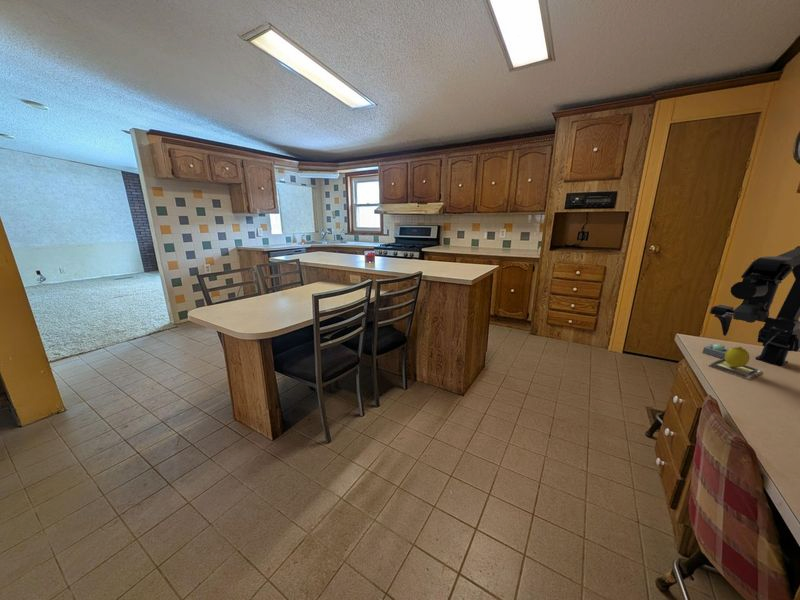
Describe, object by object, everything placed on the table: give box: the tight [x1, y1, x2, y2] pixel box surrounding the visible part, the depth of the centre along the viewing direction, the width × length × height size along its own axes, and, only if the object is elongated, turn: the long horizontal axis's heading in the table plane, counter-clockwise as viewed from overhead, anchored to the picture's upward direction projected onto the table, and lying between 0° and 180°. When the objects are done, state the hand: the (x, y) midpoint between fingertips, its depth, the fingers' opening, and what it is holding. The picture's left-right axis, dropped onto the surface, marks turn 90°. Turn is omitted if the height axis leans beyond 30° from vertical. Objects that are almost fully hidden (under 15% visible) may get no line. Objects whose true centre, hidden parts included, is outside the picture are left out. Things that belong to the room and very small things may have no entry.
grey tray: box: [708, 358, 764, 381], centre depth 102 cm, size 11×10×1 cm
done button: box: [712, 343, 726, 352], centre depth 113 cm, size 3×3×3 cm
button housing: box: [702, 344, 730, 359], centre depth 113 cm, size 6×6×2 cm
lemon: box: [725, 346, 750, 368], centre depth 101 cm, size 6×6×8 cm
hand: (743, 340), depth 99 cm, fingers open, 9 cm apart
